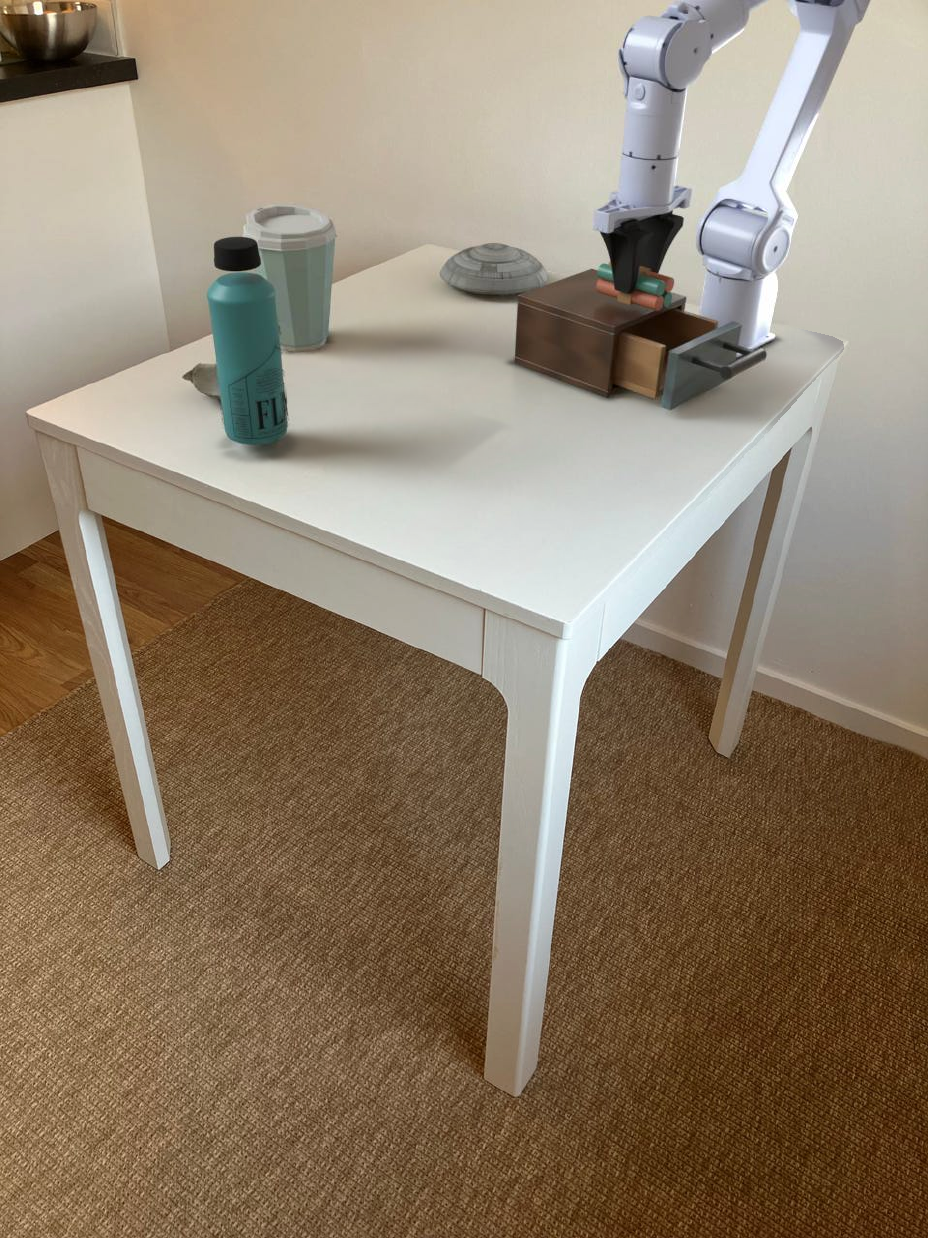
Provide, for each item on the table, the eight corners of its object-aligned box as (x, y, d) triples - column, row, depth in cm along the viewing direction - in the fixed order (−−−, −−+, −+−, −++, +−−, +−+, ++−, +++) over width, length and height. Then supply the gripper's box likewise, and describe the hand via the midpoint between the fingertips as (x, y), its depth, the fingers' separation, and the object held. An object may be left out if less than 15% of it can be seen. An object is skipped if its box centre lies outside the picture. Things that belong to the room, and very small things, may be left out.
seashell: (239, 427, 111) (278, 384, 116) (237, 405, 109) (276, 362, 113) (173, 401, 113) (214, 359, 117) (169, 379, 110) (211, 337, 115)
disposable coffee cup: (360, 338, 127) (355, 211, 119) (304, 367, 120) (294, 234, 111) (293, 320, 132) (283, 196, 123) (235, 347, 125) (220, 217, 116)
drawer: (770, 390, 115) (782, 335, 111) (709, 425, 108) (719, 367, 104) (641, 347, 125) (648, 295, 121) (577, 376, 117) (582, 321, 114)
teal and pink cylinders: (594, 293, 116) (597, 264, 114) (613, 287, 118) (616, 258, 116) (653, 312, 111) (657, 282, 109) (671, 305, 113) (675, 275, 111)
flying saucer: (512, 311, 136) (514, 269, 133) (418, 288, 143) (418, 247, 139) (567, 280, 146) (570, 240, 143) (477, 260, 153) (478, 221, 150)
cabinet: (676, 364, 123) (686, 296, 118) (607, 398, 115) (614, 326, 110) (585, 333, 130) (591, 268, 126) (514, 362, 122) (517, 294, 118)
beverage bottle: (261, 466, 101) (239, 256, 89) (210, 448, 103) (182, 242, 92) (304, 440, 105) (288, 237, 93) (254, 424, 108) (232, 225, 96)
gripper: (659, 136, 112) (644, 263, 120) (574, 157, 103) (563, 293, 112) (715, 147, 108) (695, 278, 116) (631, 170, 100) (616, 310, 108)
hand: (634, 286), depth 114 cm, fingers closed on teal and pink cylinders, 3 cm apart
